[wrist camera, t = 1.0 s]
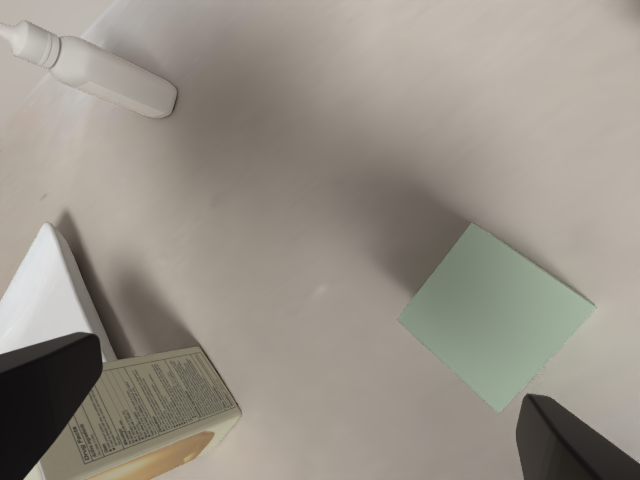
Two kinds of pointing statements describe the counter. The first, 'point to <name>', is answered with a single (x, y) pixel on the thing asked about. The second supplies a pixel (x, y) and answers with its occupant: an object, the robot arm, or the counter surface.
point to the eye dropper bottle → (91, 69)
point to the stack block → (493, 315)
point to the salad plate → (48, 298)
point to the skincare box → (143, 420)
